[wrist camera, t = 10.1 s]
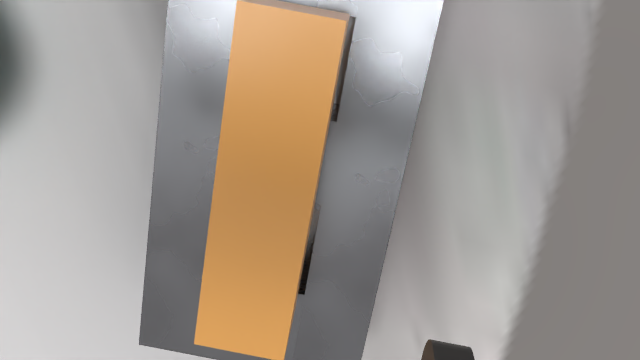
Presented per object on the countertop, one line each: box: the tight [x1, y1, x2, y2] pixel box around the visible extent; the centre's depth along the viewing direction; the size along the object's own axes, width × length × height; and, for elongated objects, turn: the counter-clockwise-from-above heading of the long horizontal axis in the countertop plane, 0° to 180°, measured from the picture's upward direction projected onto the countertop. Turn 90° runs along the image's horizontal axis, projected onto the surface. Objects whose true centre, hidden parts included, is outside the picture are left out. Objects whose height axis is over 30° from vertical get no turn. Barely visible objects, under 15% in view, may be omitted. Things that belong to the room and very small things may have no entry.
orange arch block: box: [194, 0, 350, 360], centre depth 21 cm, size 11×3×7 cm, turn 170°
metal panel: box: [139, 0, 444, 360], centre depth 24 cm, size 18×9×4 cm, turn 170°
